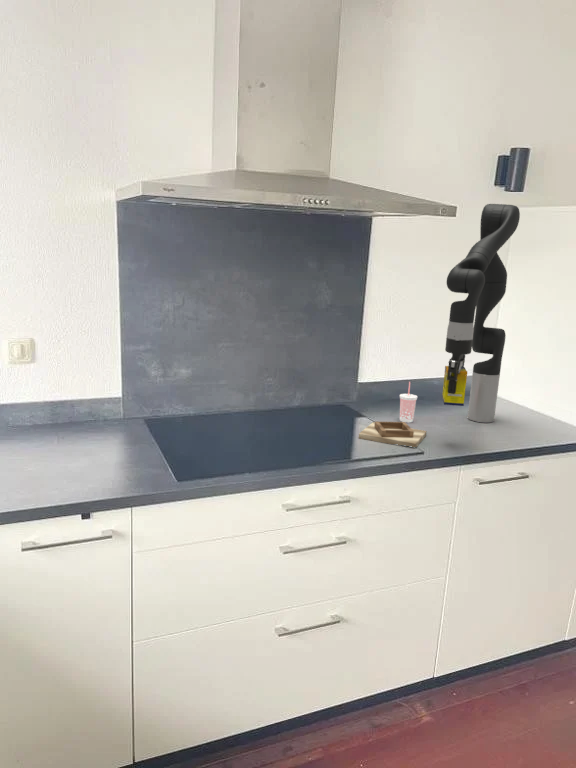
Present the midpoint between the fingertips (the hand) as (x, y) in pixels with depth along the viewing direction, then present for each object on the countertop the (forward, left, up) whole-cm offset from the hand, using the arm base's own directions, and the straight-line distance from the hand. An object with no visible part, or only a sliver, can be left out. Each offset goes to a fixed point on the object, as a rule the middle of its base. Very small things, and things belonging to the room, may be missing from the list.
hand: (453, 390), depth 179 cm
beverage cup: (-19, -18, -17) cm, 31 cm away
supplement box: (0, 0, -4) cm, 4 cm away
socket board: (+2, -17, -17) cm, 24 cm away
